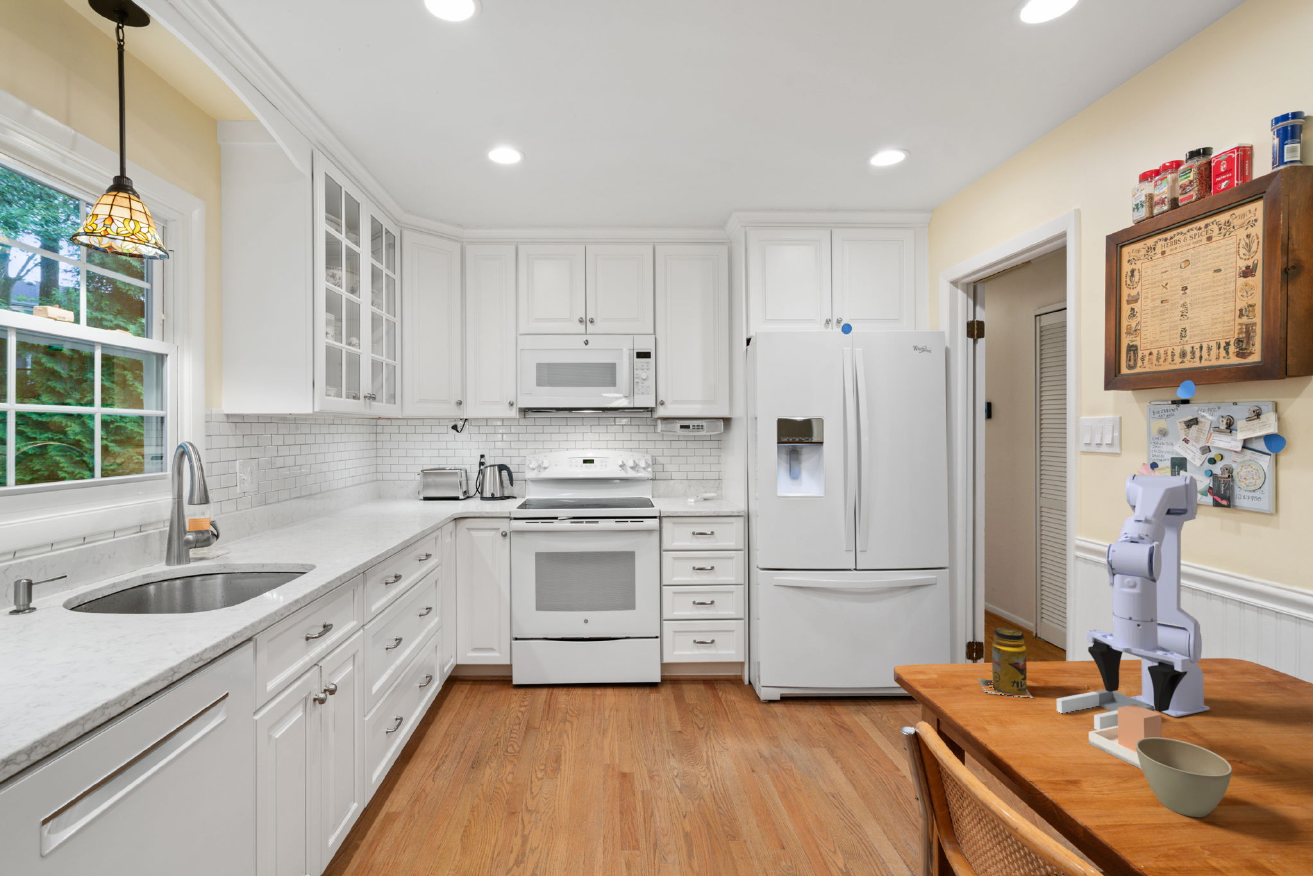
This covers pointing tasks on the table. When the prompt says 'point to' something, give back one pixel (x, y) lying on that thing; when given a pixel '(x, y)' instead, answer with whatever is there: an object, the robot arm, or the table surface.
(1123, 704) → the grey u-shaped piece
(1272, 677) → the table surface
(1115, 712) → the channel
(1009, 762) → the table surface
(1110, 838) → the table surface
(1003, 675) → the condiment
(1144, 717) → the block
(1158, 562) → the robot arm
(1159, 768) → the beige bowl
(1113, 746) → the tray
